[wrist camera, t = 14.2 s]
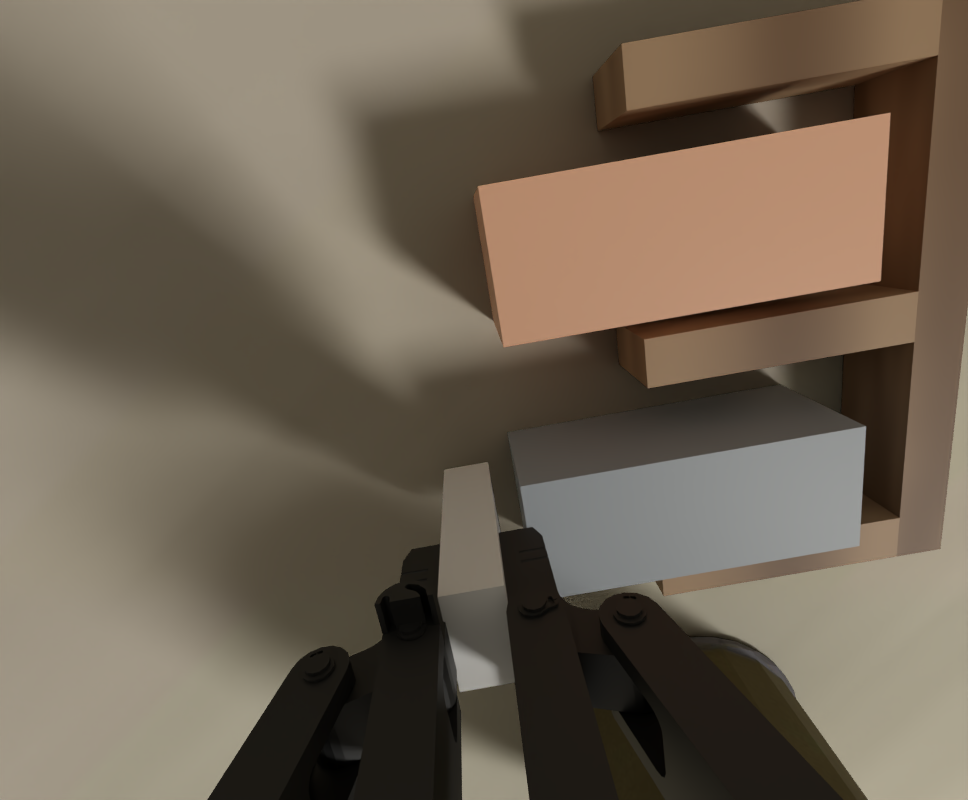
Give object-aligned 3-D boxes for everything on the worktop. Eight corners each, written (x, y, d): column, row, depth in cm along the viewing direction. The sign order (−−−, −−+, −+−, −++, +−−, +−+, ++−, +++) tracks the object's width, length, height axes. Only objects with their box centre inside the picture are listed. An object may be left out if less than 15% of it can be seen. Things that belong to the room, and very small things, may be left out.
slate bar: (522, 524, 21) (539, 601, 17) (506, 430, 20) (520, 486, 15) (776, 480, 21) (859, 546, 16) (777, 382, 20) (866, 426, 15)
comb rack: (636, 546, 21) (663, 596, 18) (592, 76, 16) (621, 43, 13) (874, 505, 21) (940, 548, 18) (907, 20, 16) (1005, -26, 13)
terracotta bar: (493, 320, 18) (503, 347, 14) (473, 196, 17) (478, 185, 13) (781, 269, 18) (880, 281, 14) (782, 142, 17) (890, 112, 13)
